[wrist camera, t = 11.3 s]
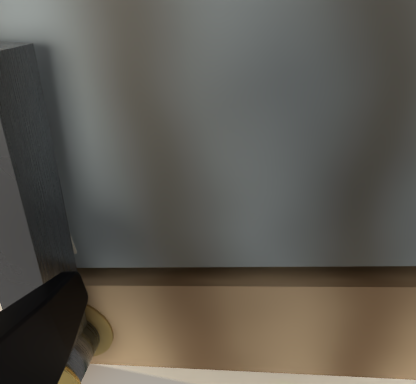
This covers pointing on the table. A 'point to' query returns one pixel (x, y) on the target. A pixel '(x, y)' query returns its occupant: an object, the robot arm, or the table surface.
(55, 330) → the robot arm
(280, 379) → the table surface
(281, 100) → the door and jamb
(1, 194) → the swing bar
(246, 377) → the table surface
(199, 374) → the table surface
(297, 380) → the table surface
